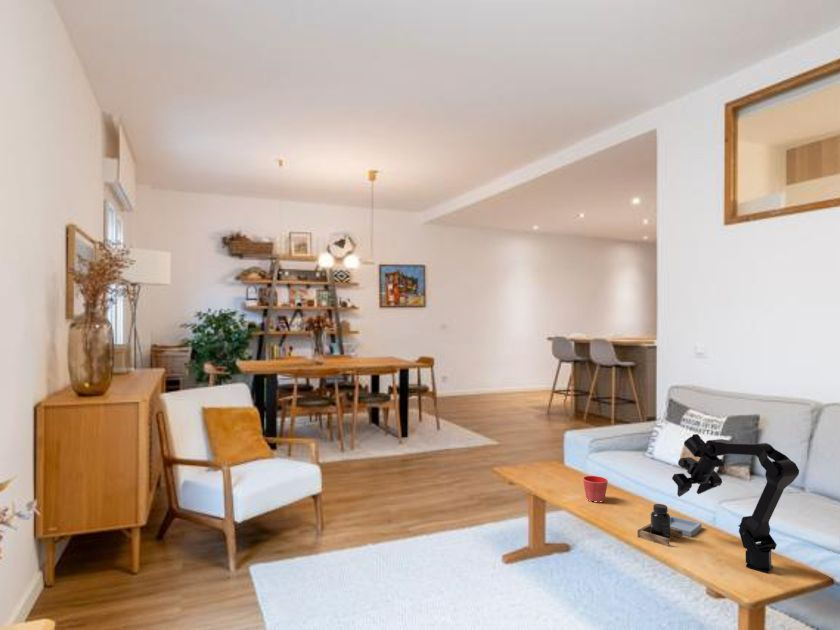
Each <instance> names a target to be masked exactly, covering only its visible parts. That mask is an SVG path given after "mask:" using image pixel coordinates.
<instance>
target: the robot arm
mask: <svg viewBox="0 0 840 630" xmlns="http://www.w3.org/2000/svg"><path fill="white" fill-rule="evenodd" d="M683 445H684V447H685V448H686V449H687V450H688V451H689V452H690V453H691V455H693V457H695V458H699V460H696V459H695V458H693V457H690V456H688V457H681V458H679V460H678V466H679V467H681V468H684V469H685V470H686V471H687V472H686V473H687V475H689V476H690V477H688V476H687V475H686V474H685V473H679V472H678V473H674V474H673V476H672V477H671V480H672V481H673V482H674V483H675V484H676V486H677V493H676V494H677V496H678V497H679V498H680V497H682V496H684V495H685V494H687V493H688V492H689V491H690V490H691V489H692V487H693V485H696V484H698V485H699V486H698V488H697V490H696V494H697V495H700V494H702V493H705V492H708V491H709V490H713V489H715V488H717V487H720V486H721V485H722V484H723V479H722V477H720V475H718V473H717V472H716V471H715V470H716V468H720V467H721V468H722V467H725V464H724V462H723V459H722V458H720V457H721V456H728V455H741V456H743V455H744V456H756V457H757V458H758V461H759V463H760V466H761V467H762V468H763V469H764V470H765V475H764V476H765V478H766V479H765V480H766V483H765V485H764V488H763V490H762V492H761V495H760V497H759V499H758V502H757V504H756V506H755V508H754V510H753V512H752V515H749V516H748V515H747V516H743V517H742V518H741V522H740V523H739V524H738V525H737V526H738V527H739V528H738V533H739V536H740V540H741V544H742V546H743V548H744V549H745V563H746V565H745V567H746V568H749V569H752V570H754V571H755V570H756V571H759V572H761V573H762V572H763V573H765V574H769V573H770V572H771V570H772V569H773V568H774V565H772V550H773V551H774V550H776V547H777V545H778V544H777V542H776V541H775V540H774V538H773V537H772V536H771V526H770V523H769V522H770V520H771V518H772V516H773V514H774V512H775V509H776V507H777V505H778V503H779V500H780V499H781V497H782V494H783V492H784V490H785V489H786V488H787V487H788V486H790V484H792V483H793V482H795V480H796V478H798V476H799V474H800V469H799V467H798V466H797V464H796V463H795V462H794V461H793V460H791V459H790V457H788V456H787V455H785V454H784V453H782V452H781V451H779V450H777V449H775V448H774V447H773V446H772V445H771V444H769V443H767V442H761V443H759V442H757V443H755V442H754V443H752V442H749V443H747V442H733V441H731V440H728V439H723V438H720V439H719V438H717V439H710V440H707V441H706V442H705V441H704V440H703V439H702V437H701V436H700V435H699V434H697V433H696V434H692V436H690V437H688V438H687V439H686V440H684V442H683Z"/></svg>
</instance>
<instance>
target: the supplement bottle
mask: <svg viewBox="0 0 840 630" xmlns="http://www.w3.org/2000/svg"><path fill="white" fill-rule="evenodd" d="M652 510H653V511H652V512H651V513H650V524H651V532H650V533H652V534H655V535H658V536H662V537H665V538H668V539H669V540H671V535H670V516H671V515H670V514H669V512H668V506H667V505H666V504H662V503H655V504H653V509H652Z"/></svg>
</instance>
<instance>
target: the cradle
mask: <svg viewBox="0 0 840 630" xmlns="http://www.w3.org/2000/svg"><path fill="white" fill-rule="evenodd" d="M649 532H650V533H649ZM670 536H673V537H675V538H679V539H682V538H683V535H682V531H681V530H677V529H674V528H670ZM637 537H638V538H640V537H641V539H643V538H644V540H646V539H647V541H649V540H650V542H652V541H653V542H654V543H657V544H660V545H662V546H665V547H669V546H670V539H668V538H665V537H662V536H658V535H655V534H652V533H651V523H649V524H647V525H644V526H643V527H642V528H639V529H638V530H637Z"/></svg>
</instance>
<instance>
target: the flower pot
mask: <svg viewBox="0 0 840 630" xmlns="http://www.w3.org/2000/svg"><path fill="white" fill-rule="evenodd" d="M582 480H583V481H582V482H583V486H584V487H583V488H584V493H585V497H586V498H587V499H588V500H590V501H597V502H599V503H600V501H604V502H605V500H606V493H607V487H608V481H609V480H608V479H607V478H606V477H603V476H597V475H586V476H584V477H582ZM587 499H586V500H587ZM588 500H587V501H588ZM590 501H589V502H590Z"/></svg>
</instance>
